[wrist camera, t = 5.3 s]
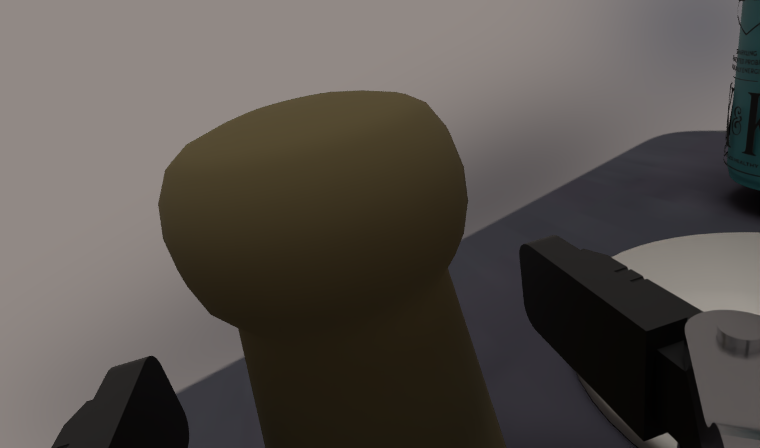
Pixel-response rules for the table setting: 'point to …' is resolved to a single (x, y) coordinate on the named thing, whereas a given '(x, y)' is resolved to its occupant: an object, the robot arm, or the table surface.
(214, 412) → the table surface
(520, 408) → the table surface
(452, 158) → the cork
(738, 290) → the saucer
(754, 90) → the beverage bottle
